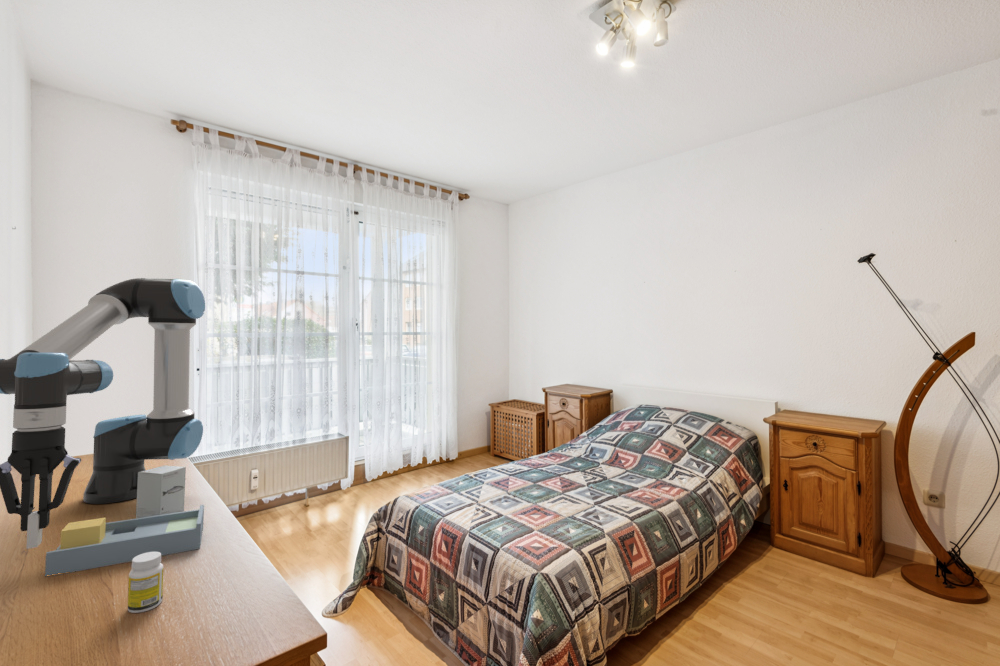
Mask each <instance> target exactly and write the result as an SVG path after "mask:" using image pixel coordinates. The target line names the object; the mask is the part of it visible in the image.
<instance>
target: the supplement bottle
mask: <svg viewBox="0 0 1000 666" xmlns="http://www.w3.org/2000/svg"><path fill="white" fill-rule="evenodd" d="M127 588H128V591H127V592H128V594H127V611H128V612H129V613H132V614H138V613H145V612H148V611H151V610H154V608H156V607H158V606H160V605H161V603H163V592H164V589H163V588H164V564H163V563H162V556H161V553H160V552H147V553H143V554H140V555H138V556H136V557H134V558H133V559H132V561H131V570H130V571H129V573H128V587H127Z"/></svg>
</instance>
